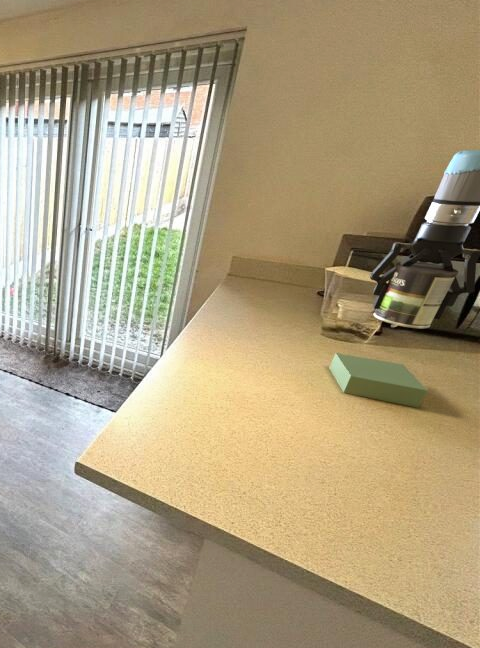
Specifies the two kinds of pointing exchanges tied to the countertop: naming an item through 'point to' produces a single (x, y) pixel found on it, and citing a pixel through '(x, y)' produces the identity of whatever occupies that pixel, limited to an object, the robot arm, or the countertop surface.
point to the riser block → (377, 380)
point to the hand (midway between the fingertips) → (404, 312)
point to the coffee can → (414, 294)
